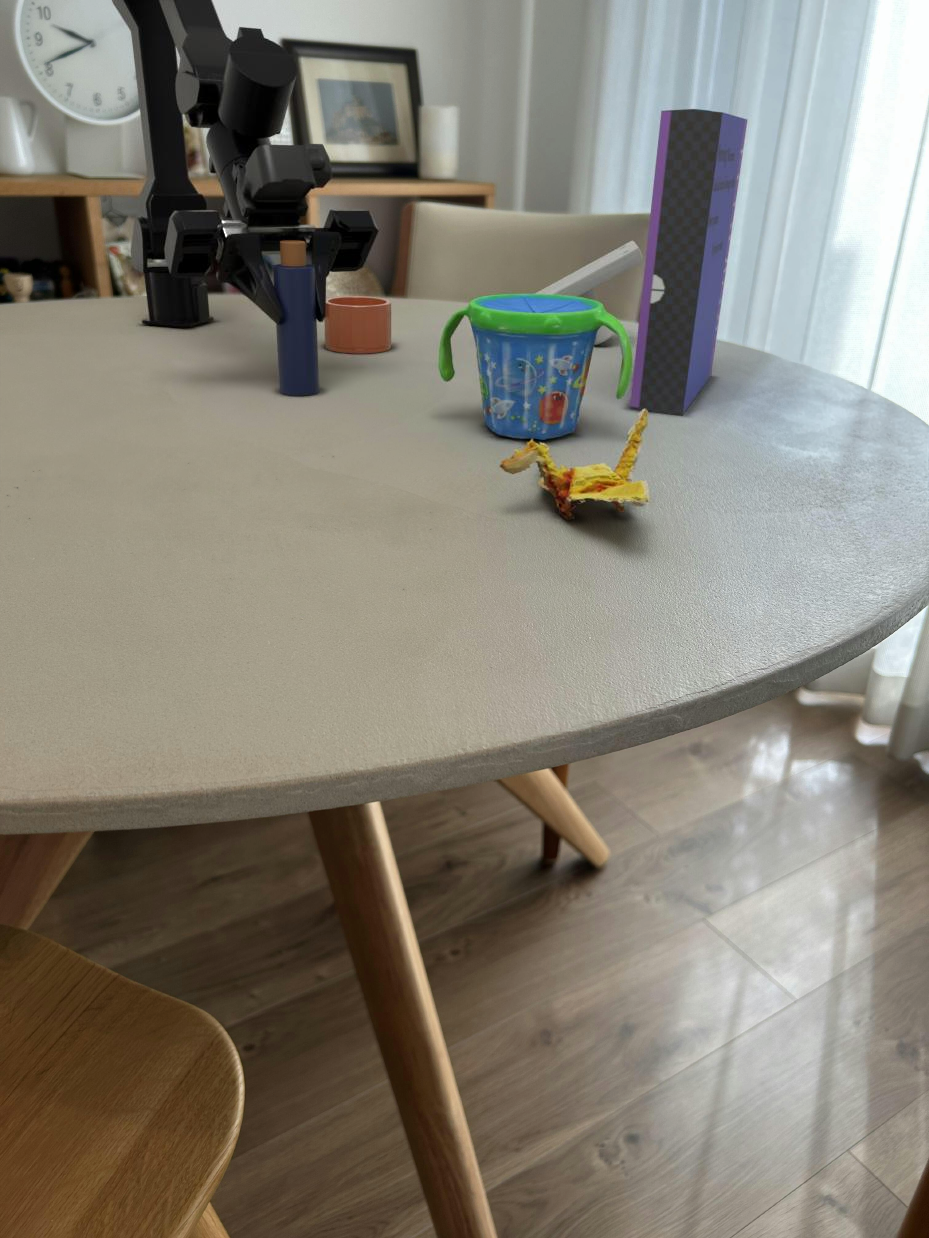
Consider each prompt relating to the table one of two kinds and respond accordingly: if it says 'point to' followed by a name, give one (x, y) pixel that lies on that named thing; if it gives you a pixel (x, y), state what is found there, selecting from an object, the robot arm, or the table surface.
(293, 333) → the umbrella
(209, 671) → the table surface
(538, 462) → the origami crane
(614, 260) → the door handle
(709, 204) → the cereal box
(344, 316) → the terracotta round pot
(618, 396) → the snack cup
